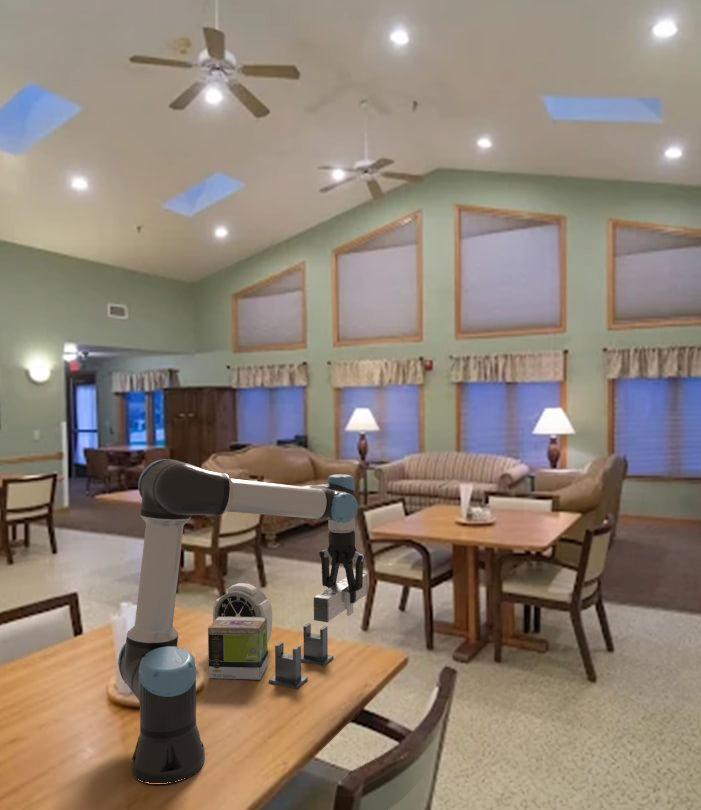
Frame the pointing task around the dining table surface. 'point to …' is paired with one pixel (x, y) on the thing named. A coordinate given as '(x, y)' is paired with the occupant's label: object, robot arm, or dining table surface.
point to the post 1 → (288, 667)
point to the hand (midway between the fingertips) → (342, 612)
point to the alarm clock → (244, 604)
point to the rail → (336, 599)
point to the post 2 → (315, 646)
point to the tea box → (237, 647)
